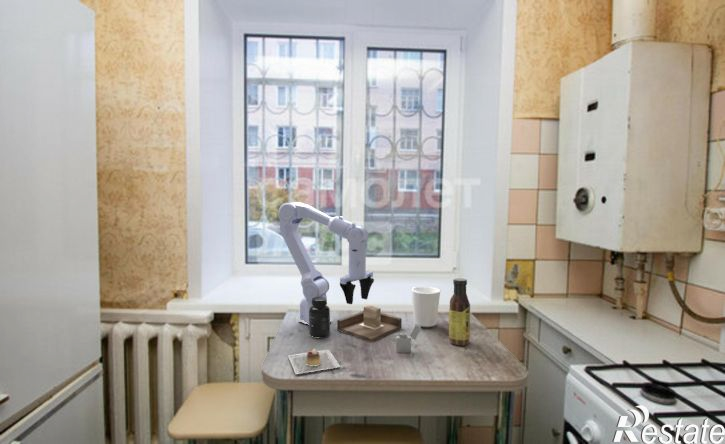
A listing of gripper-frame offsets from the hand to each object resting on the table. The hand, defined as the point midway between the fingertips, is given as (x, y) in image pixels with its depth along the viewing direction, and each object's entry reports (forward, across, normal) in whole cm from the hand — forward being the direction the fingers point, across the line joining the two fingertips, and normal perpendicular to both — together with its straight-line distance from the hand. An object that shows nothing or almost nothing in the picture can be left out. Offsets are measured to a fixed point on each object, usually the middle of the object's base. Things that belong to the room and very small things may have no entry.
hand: (357, 301), depth 130 cm
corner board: (+9, +2, -4) cm, 10 cm away
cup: (+10, +18, -16) cm, 26 cm away
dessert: (+10, -28, -9) cm, 31 cm away
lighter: (+10, -4, -24) cm, 26 cm away
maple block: (+8, +3, -4) cm, 10 cm away
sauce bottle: (+10, +12, -32) cm, 35 cm away
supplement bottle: (+10, -13, +5) cm, 17 cm away
